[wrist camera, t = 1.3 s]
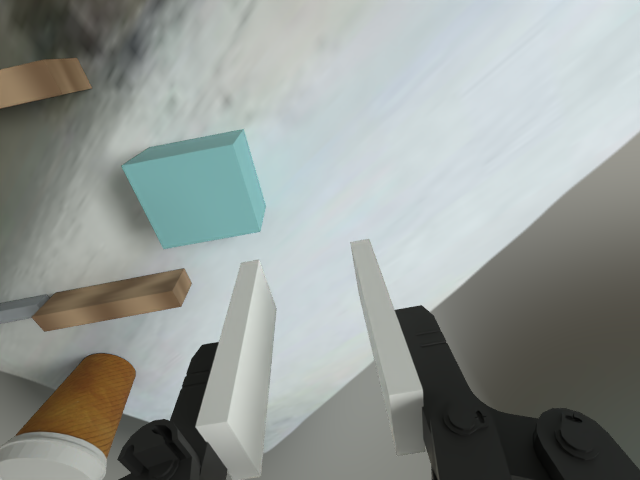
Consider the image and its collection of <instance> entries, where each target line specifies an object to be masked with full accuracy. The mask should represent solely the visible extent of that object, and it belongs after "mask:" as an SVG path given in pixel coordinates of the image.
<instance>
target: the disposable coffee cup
mask: <svg viewBox="0 0 640 480" xmlns="http://www.w3.org/2000/svg"><path fill="white" fill-rule="evenodd" d="M135 376H136V372H135V369H134V368H133V366H132V365H131V364H130V363H129V362H128V361H126V360H124V359H122V358H120V357H118V356H115V355H111V354H101V353H99V354H93V355H90V356H88V357H86V358H85V359H83V361H82V362H81V363H80V364H79V365H78V366H77V367H76V369H75V370H74V371H73V372H72V373H71V374H70V375H69V376H68V377H67V379H66V380H65V381H64V382H63V383H62V384H61V385H60V386H59V387H58V389H57V390H56V391H55V392H54V393H53V394H52V395H51V396H50V398H49V399H48V400H47V401H46V402H45V403H44V404H43V405H42V406H41V407H40V408H39V410H38V411H37V412H36V413H35V414H34V415H33V416H32V417H31V419H30V420H29V421H28V422H27V423H26V424H25V425H24V426H23V428H22V429H21V430H20V431H19V432H18V433H17V434H16V436H14V437H13V438H11V439H10V440H9V441H8V442H6V443H5V444H3V445H2V446H1V447H0V480H102V479H103V478H104V476H105V474H106V465H107V456H108V453H109V450H110V448H111V445H112V442H113V439H114V436H115V433H116V430H117V427H118V425H119V422H120V419H121V416H122V413H123V410H124V408H125V404H126V402H127V399H128V396H129V393H130V390H131V387H132V384H133V381H134V379H135Z"/></svg>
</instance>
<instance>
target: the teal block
mask: <svg viewBox="0 0 640 480" xmlns="http://www.w3.org/2000/svg"><path fill="white" fill-rule="evenodd" d="M122 168H123V170H124V172H125V174H126V176H127V178H128V180H129V182H130V184H131V186H132V188H133V190H134V192H135V194H136V196H137V198H138V200H139V202H140V204H141V206H142V208H143V210H144V212H145V214H146V216H147V217H148V219H149V221H150V223H151V225H152V227H153V229H154V231H155V233H156V235H157V237H158V239H159V241H160V243H161V245H162V247H163V249H167V248H172V247H178V246H184V245H189V244H195V243H200V242H206V241H211V240H217V239H223V238H228V237H234V236H239V235H245V234H250V233H256V232H260V231H261V226H262V222H263V217H264V213H265V208H266V205H265V201H264V198H263V194H262V191H261V188H260V184H259V181H258V177H257V174H256V170H255V167H254V163H253V160H252V156H251V153H250V149H249V146H248V143H247V139H246V136H245V132H244V129H242V130H237V131H231V132H226V133H221V134H216V135H211V136H206V137H201V138H195V139H190V140H185V141H180V142H175V143H170V144H165V145H159V146H154V147H149V148H148V149H146V150H145V151H143V152H142V153H140V154H139V155H137V156H135V157H134V158H132V159H131V160H129V161H128V162H126V163H125V164H123V165H122Z"/></svg>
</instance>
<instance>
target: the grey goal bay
mask: <svg viewBox="0 0 640 480" xmlns="http://www.w3.org/2000/svg"><path fill="white" fill-rule="evenodd" d="M49 299H50V298H49V297H48V296H47V295H42V296H37V297H31V298H26V299H21V300H16V301H10V302H5V303H0V324H1V323H7V322H12V321H17V320H23V319H28V318H32V316H33V315H34V314H35V313H36V312H37V311H38V310H39V309H40V308H41V307H42V306H43V305H44V304H45V303H46V302H47V301H48V300H49Z"/></svg>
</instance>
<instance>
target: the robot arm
mask: <svg viewBox="0 0 640 480" xmlns="http://www.w3.org/2000/svg"><path fill="white" fill-rule="evenodd" d="M350 243H351V249H352V255H353V261H354V267H355V273H356V279H357V285H358V291H359V296H360V301H361V305H362V309H363V313H364V318H365V322H366V326H367V330H368V335H369V339H370V343H371V347H372V352H373V356H374V360H375V364H376V369H377V373H378V377H379V382H380V386H381V390H382V394H383V398H384V403H385V407H386V411H387V416H388V420H389V424H390V428H391V433H392V437H393V441H394V445H395V450H396V454H397V456H400V455H407V454H414V453H420V452H425V446H426V449H427V452H428V455H429V459H430V462H431V468H432V469H431V470H432V480H640V470H639V469H638V467H637V466H636V465H635V464H634V463H633V462H632V461H631V459H630V458H629V457H628V456H627V455H626V453H625V452H624V451H623V450H622V449H621V448H620V446H619V445H618V444H617V443H616V442H615V441H614V439H613V438H612V437H611V436H610V435H609V433H608V432H606V431H605V430H604V429H603V428H602V427H601V426H600V425H599V424H598V423H597V422H596V421H594V420H592V419H590V418H589V417H587V416H585V415H583V414H582V413H580V412H576V411H573V410H569V409H566V408H552V409H550V410H548V411H545V412H543V413H542V414H541V416H540V417H539V419H537V418H531V417H525V416H519V415H513V414H507V413H504V412H500V411H497V410H495V409H493V408H490V407H489V406H487V405H486V404H484V403H483V402H481V401H480V400H479V399H478V398H477V397H476V396H475V395H474V394H473V392H472V391H471V389H470V388H469V386H468V384H467V382H466V380H465V378H464V376H463V374H462V372H461V370H460V368H459V366H458V364H457V362H456V360H455V358H454V356H453V354H452V352H451V350H450V348H449V346H448V344H447V343H446V340H445V338H444V336H443V334H442V332H441V330H440V328H439V325H438V324H437V321H436V320H435V318H434V316H433V315H432V314H431V313H430V312H429V311H428V310H426V309H425V308H424V307H423V306H422V305H421V306H415V307H409V308H404V309H398V310H394V307H393V304H392V302H391V299H390V296H389V293H388V290H387V287H386V285H385V282H384V279H383V276H382V273H381V271H380V268H379V265H378V262H377V259H376V256H375V254H374V251H373V248H372V245H371V242H370V240H369V239H365V240H360V241H354V242H350ZM275 320H276V306H275V303H274V300H273V297H272V295H271V292H270V289H269V286H268V283H267V280H266V278H265V275H264V272H263V269H262V266H261V263H260V261H259V260H254V261H249V262H243V263H241V265H240V268H239V272H238V275H237V279H236V283H235V286H234V290H233V293H232V297H231V301H230V304H229V308H228V311H227V315H226V318H225V322H224V326H223V329H222V333H221V336H220V340H219V342H216V343H210V344H204V345H202V346H201V347H200V348H199V350H198V351H197V352H196V354H195V355H194V356H193V358H192V359H191V362H190V365H189V368H188V371H187V373H186V374H187V376H186V377H185V379H184V382H183V385H182V389H181V391H180V393H179V396H178V399H177V402H176V405H175V408H174V410H173V413H172V416H171V419H170V421H169V420H166V419H162V420H155V421H152V422H150V423H148V424H146V425H145V426H143V427H141V428H140V429H139V430H138V431H137V432H136V433H134V434H133V435H132V436H131V437H130V439H129V440H128V441H127V443H126V444H125V445H124V447H123V448H122V450H121V453H120V455H119V457H118V460H119V461H120V462H121V463H122V464H123V465H124V466H125V467H126V468H127V469H128V470H129V471H130V472H131V474H129V475H127V476H125V477H123V478H121V479H119V480H226V475H227V472H228V473H229V475H230V476H231V477H232V479H233V480H242V479H248V478H255V477H260V476H261V468H262V458H263V447H264V437H265V426H266V415H267V405H268V394H269V383H270V373H271V362H272V351H273V341H274V330H275Z"/></svg>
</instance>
